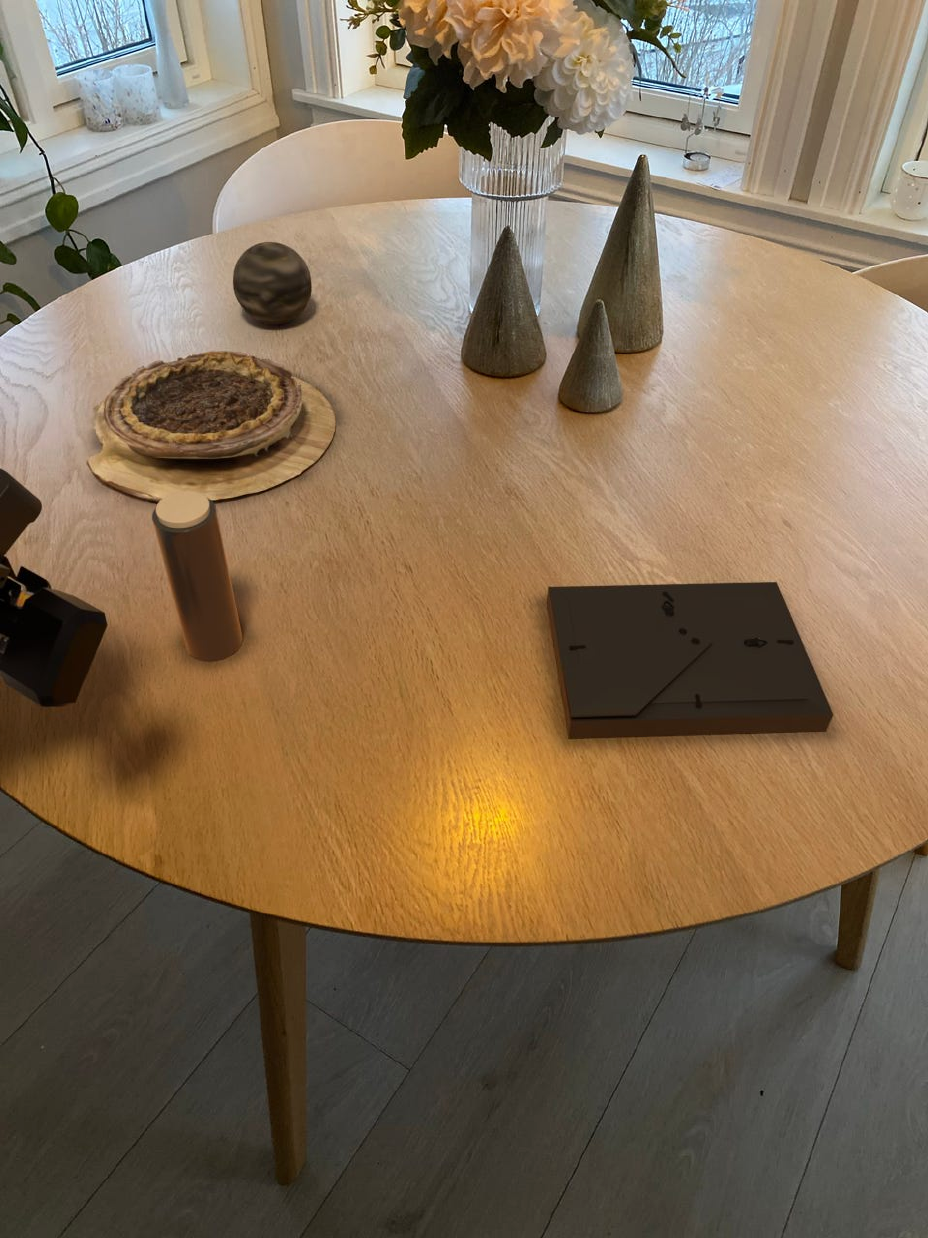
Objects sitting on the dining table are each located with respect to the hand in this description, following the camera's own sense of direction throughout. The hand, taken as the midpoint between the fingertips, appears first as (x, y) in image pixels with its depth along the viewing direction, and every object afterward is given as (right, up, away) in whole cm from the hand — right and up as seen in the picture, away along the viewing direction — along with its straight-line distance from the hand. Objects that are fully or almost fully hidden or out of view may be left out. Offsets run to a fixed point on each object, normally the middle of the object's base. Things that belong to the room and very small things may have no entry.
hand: (78, 616), depth 67 cm
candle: (+5, -2, +16) cm, 17 cm away
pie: (-1, +21, +40) cm, 45 cm away
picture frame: (+45, -4, +15) cm, 48 cm away
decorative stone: (+2, +39, +59) cm, 71 cm away
